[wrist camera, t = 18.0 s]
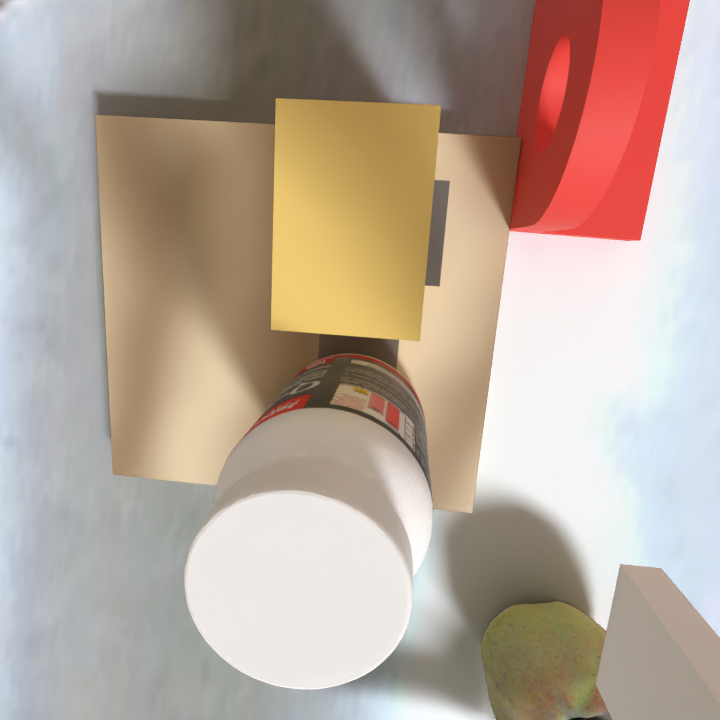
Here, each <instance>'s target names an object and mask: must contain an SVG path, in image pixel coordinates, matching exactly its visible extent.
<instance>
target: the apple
mask: <svg viewBox="0 0 720 720" xmlns="http://www.w3.org/2000/svg"><path fill="white" fill-rule="evenodd" d="M605 636H606V631H605V630H604V629H603V628H602V627H601V626H600V625H599V624H597V623H596V622H595V621H594V620H593V619H592V618H590V617H589V616H588V615H586V614H585V613H583V612H582V611H580V610H578V609H576V608H575V607H573V606H571V605H569V604H566V603H563V602H558V601H554V602H549V603H535V604H517V605H512V606H510V607H508V608H506V609H504V610H503V611H502V612H501V613H499V614H498V615H497V616H496V617H495V618H494V619H493V620H492V621H491V623H490V624H489V625H488V627H487V629H486V630H485V633H484V635H483V639H482V643H481V657H482V662H483V666H484V670H485V675H486V681H487V687H488V694H489V699H490V703H491V706H492V709H493V712H494V715H495V718H496V720H612V718H611V716H610V714H609V711H608V709H607V707H606V705H605V703H604V701H603V698H602V696H601V694H600V692H599V690H598V688H597V686H596V680H597V675H598V670H599V665H600V661H601V656H602V651H603V646H604V641H605Z"/></svg>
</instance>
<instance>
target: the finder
mask: <svg viewBox="0 0 720 720" xmlns="http://www.w3.org/2000/svg"><path fill="white" fill-rule="evenodd" d="M440 114H441V105H424V104H400V103H377V102H353V101H329V100H306V99H282V98H276V111H275V158H274V205H273V252H272V298H271V330H279V331H292V332H305V333H318V334H331V335H344V336H357V337H370V338H383V339H396V340H409V341H420V334H421V323H422V312H423V301H424V290H425V286H439V287H440V278H441V268H442V258H443V248H444V237H445V227H446V217H447V206H448V196H449V186H450V181H445V180H435V169H436V158H437V147H438V136H439V125H440Z"/></svg>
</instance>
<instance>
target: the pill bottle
mask: <svg viewBox="0 0 720 720" xmlns="http://www.w3.org/2000/svg"><path fill="white" fill-rule="evenodd" d="M432 524H433V500H432V490H431V479H430V469H429V459H428V446H427V434H426V423H425V416H424V412H423V408H422V405H421V402H420V400H419V397H418V395H417V393H416V392H415V390H414V388H413V387H412V385H411V384H410V383H409V382H408V380H407V379H406V378H405V377H404V376H403V375H402V374H401V373H400V372H398V371H397V370H396V369H394V368H393V367H392V366H390V365H388V364H387V363H385V362H383V361H381V360H378V359H376V358H373V357H370V356H366V355H361V354H337V355H331V356H328V357H324V358H322V359H319V360H317V361H315V362H313V363H311V364H310V365H308V366H307V367H305V368H304V369H302V370H301V371H300V372H298V373H297V374H296V375H295V376H294V378H293V379H292V380H291V381H290V382H289V383H288V384H287V386H286V387H285V388H284V389H283V390H282V392H281V393H280V394H279V395H278V396H277V398H276V399H275V400H274V401H273V403H272V404H271V405H270V406H269V407H268V409H267V410H266V411H265V412H264V413H263V414H262V415H261V417H260V418H259V419H258V420H257V421H256V423H255V424H254V425H253V426H252V427H251V428H250V430H249V431H248V432H247V433H246V434H245V435H244V437H243V438H242V439H241V440H240V441H239V443H238V444H237V445H236V446H235V448H234V449H233V450H232V452H231V453H230V455H229V456H228V458H227V460H226V462H225V464H224V466H223V468H222V471H221V473H220V476H219V479H218V482H217V485H216V490H215V495H214V505H213V508H212V509H211V511H210V513H209V515H208V516H207V518H206V519H205V521H204V522H203V524H202V525H201V527H200V528H199V530H198V531H197V533H196V535H195V537H194V539H193V541H192V543H191V546H190V548H189V551H188V555H187V559H186V564H185V570H184V587H185V595H186V601H187V605H188V608H189V611H190V614H191V616H192V618H193V621H194V623H195V625H196V626H197V628H198V630H199V631H200V633H201V634H202V636H203V637H204V639H205V640H206V642H207V643H208V644H209V645H210V646H211V647H212V648H213V649H214V650H215V652H216V653H217V654H218V655H219V656H221V657H222V658H223V659H224V660H226V661H227V662H228V663H229V664H231V665H232V666H233V667H235V668H236V669H238V670H239V671H241V672H243V673H245V674H247V675H249V676H251V677H252V678H255V679H257V680H260V681H263V682H266V683H269V684H271V685H276V686H281V687H286V688H294V689H321V688H327V687H333V686H337V685H341V684H344V683H347V682H350V681H353V680H355V679H358V678H359V677H361V676H364V675H365V674H367V673H369V672H370V671H372V670H373V669H375V668H376V667H377V666H379V665H380V664H381V663H382V662H383V661H384V660H385V659H386V658H387V657H388V656H389V655H390V654H391V653H392V652H393V651H394V649H395V648H396V647H397V645H398V643H399V642H400V640H401V639H402V637H403V635H404V633H405V630H406V628H407V625H408V623H409V619H410V615H411V611H412V603H413V576H414V575H415V573H416V572H417V570H418V569H419V567H420V565H421V563H422V561H423V559H424V557H425V554H426V552H427V549H428V546H429V543H430V539H431V533H432Z"/></svg>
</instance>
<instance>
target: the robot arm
mask: <svg viewBox="0 0 720 720" xmlns="http://www.w3.org/2000/svg"><path fill="white" fill-rule="evenodd" d="M596 686H597V688H598V690H599V692H600V694H601V696H602V698H603V701H604V703H605V705H606V707H607V709H608V711H609V714H610V716H611V718H612V720H720V638H719V637H718V635H717V634H716V633H715V632H714V631H713V629H712V628H711V627H710V626H709V625H708V623H707V622H706V621H705V620H704V619H703V617H702V616H701V615H700V614H699V613H698V612H697V610H696V609H695V608H694V607H693V606H692V604H691V603H690V602H689V601H688V600H687V598H686V597H685V596H684V595H683V594H682V592H681V591H680V590H679V589H678V588H677V586H676V585H675V584H674V583H673V582H672V580H671V579H670V578H669V577H668V576H667V575H666V573H665V572H664V571H663V570H662V569H661V568H653V567H643V566H633V565H623V564H620V568H619V573H618V578H617V583H616V588H615V593H614V598H613V602H612V607H611V612H610V617H609V622H608V627H607V631H606V636H605V641H604V646H603V651H602V656H601V661H600V665H599V670H598V675H597V680H596Z"/></svg>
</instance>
